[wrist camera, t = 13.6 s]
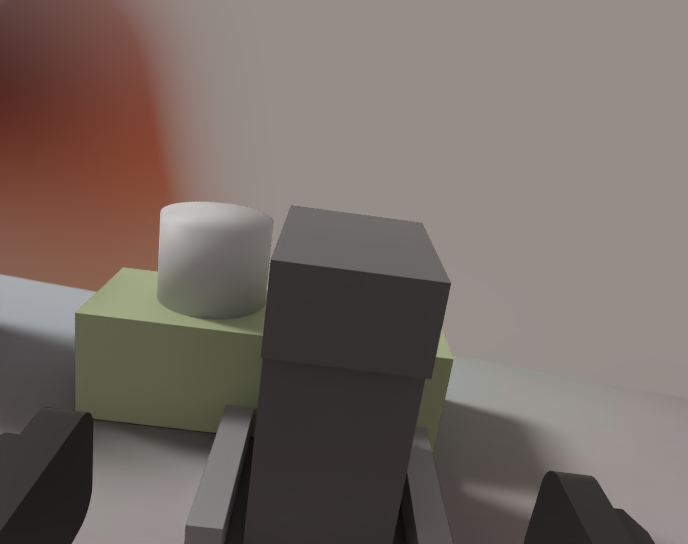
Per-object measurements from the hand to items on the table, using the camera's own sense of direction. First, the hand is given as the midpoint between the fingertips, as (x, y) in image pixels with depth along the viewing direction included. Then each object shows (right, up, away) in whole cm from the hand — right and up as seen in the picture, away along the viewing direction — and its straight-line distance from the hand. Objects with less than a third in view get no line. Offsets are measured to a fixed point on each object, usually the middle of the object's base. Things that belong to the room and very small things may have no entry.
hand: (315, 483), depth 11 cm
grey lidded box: (0, -5, +13) cm, 14 cm away
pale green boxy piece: (-3, -4, +16) cm, 17 cm away
